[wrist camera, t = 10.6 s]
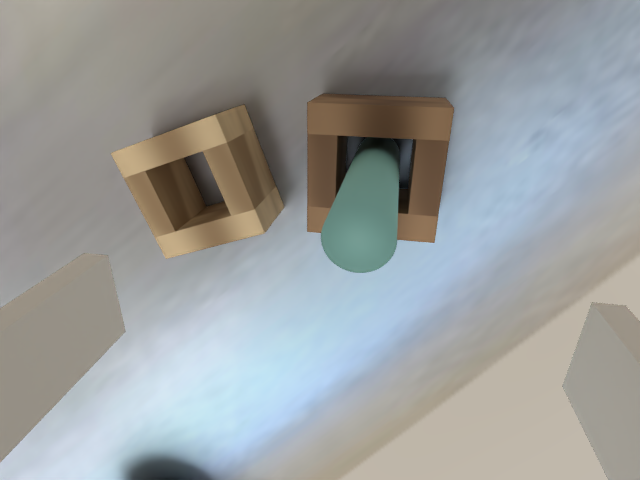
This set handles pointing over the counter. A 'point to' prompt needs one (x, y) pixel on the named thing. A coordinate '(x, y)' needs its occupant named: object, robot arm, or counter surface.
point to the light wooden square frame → (182, 192)
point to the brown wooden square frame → (383, 122)
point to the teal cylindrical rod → (365, 209)
